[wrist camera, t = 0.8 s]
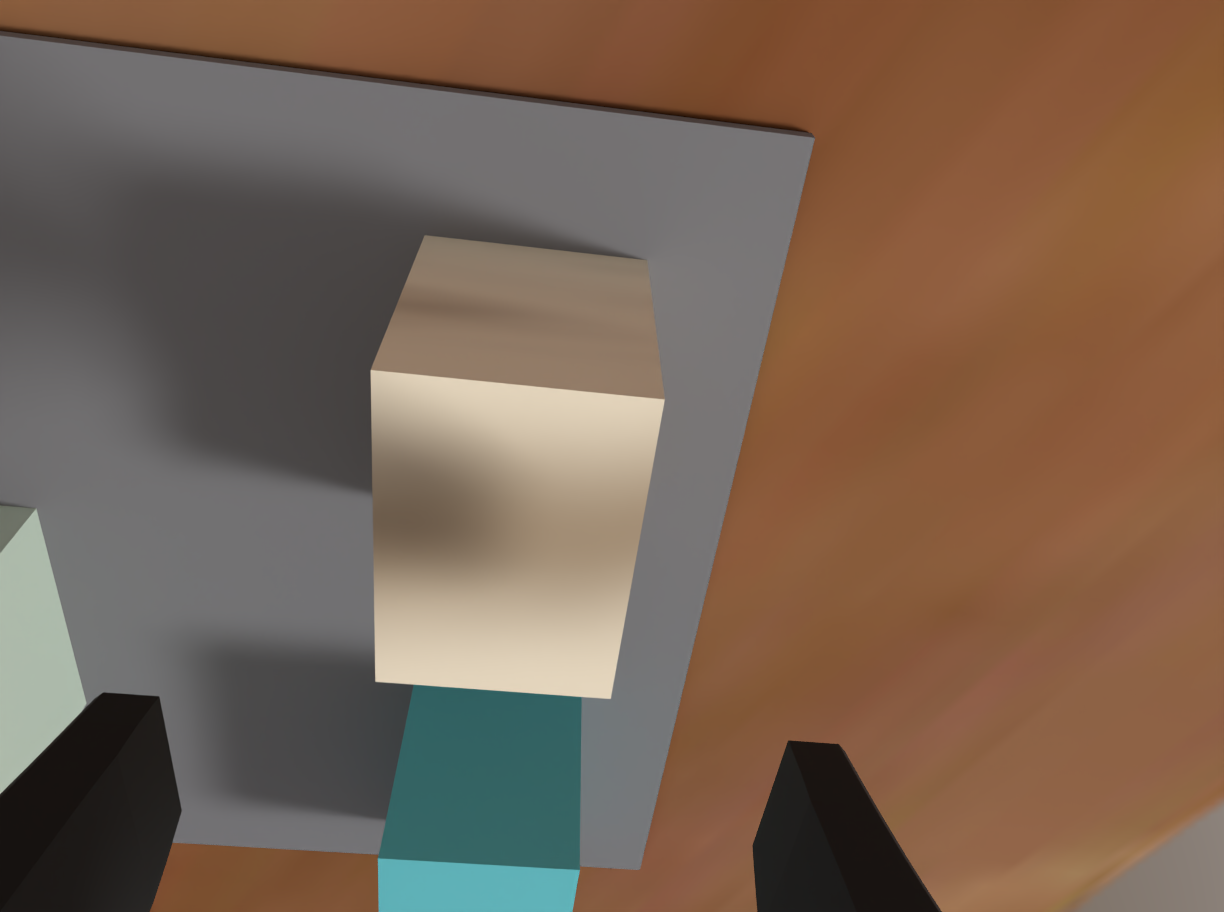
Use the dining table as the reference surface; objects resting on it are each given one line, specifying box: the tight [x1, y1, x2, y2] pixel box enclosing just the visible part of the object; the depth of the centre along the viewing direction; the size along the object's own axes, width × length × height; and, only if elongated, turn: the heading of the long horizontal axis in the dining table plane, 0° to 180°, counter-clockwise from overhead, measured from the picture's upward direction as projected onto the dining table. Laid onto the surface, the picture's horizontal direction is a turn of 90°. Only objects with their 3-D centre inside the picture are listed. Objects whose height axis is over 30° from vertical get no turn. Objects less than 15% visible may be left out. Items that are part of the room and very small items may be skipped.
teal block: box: [378, 685, 582, 912], centre depth 23 cm, size 6×4×5 cm, turn 173°
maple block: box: [371, 235, 665, 699], centre depth 17 cm, size 6×4×5 cm, turn 173°
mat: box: [0, 31, 815, 870], centre depth 21 cm, size 21×27×1 cm
